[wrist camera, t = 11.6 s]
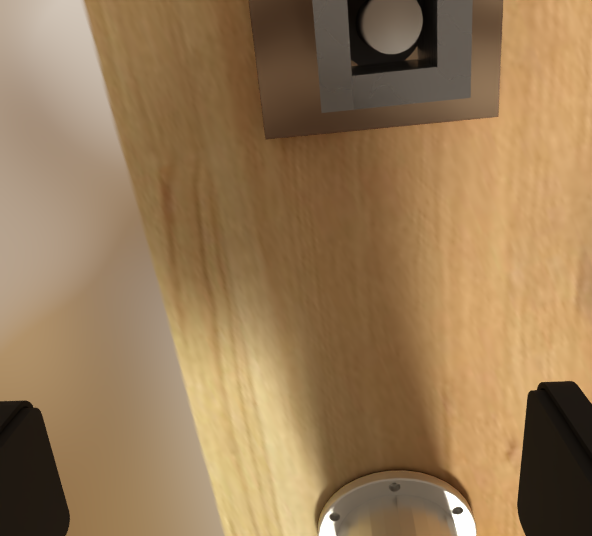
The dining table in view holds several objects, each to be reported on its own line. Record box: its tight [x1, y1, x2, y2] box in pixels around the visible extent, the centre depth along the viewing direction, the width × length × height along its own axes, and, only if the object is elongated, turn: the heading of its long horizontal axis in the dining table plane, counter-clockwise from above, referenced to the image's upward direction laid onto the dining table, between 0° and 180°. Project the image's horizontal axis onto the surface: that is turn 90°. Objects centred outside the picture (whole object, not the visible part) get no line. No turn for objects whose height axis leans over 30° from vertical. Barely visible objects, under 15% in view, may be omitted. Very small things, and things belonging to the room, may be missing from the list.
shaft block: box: [249, 0, 503, 139], centre depth 27 cm, size 11×13×8 cm
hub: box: [312, 0, 473, 113], centre depth 25 cm, size 6×6×5 cm
